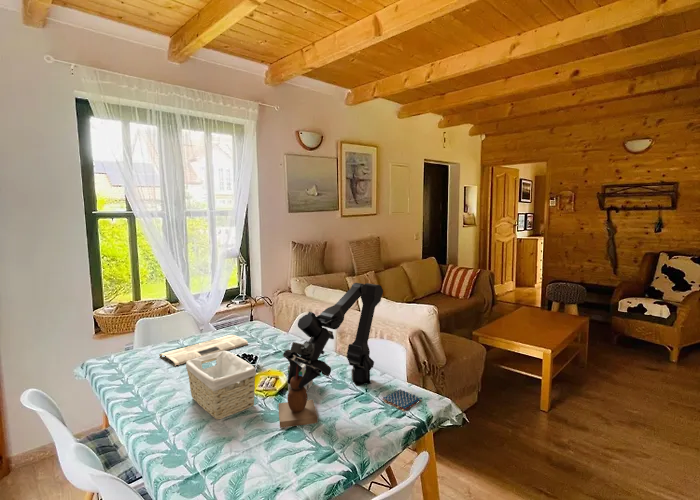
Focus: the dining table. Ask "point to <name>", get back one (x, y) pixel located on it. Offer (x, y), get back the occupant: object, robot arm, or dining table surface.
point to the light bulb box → (302, 376)
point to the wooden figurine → (297, 394)
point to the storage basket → (222, 383)
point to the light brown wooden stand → (297, 415)
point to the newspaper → (204, 348)
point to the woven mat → (401, 399)
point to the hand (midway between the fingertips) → (293, 385)
